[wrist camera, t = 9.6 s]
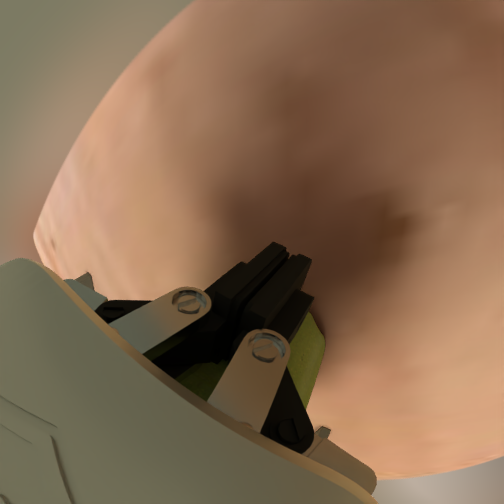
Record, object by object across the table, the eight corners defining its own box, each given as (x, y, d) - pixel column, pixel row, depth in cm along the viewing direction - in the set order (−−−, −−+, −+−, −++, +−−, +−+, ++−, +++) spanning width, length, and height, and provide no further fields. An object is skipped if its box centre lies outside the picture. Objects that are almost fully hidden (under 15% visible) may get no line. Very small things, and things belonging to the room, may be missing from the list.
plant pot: (209, 345, 20) (131, 425, 13) (208, 234, 15) (70, 327, 8) (324, 400, 16) (264, 508, 9) (382, 299, 11) (316, 491, 4)
